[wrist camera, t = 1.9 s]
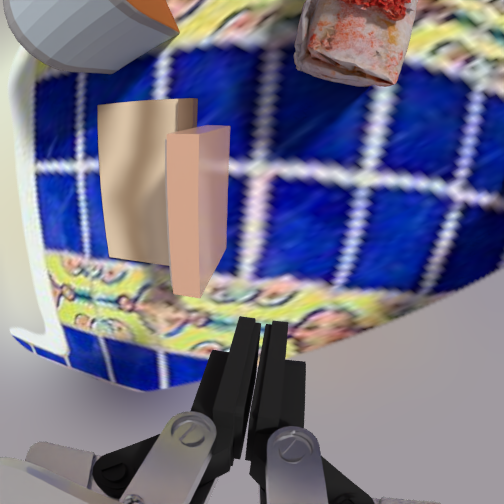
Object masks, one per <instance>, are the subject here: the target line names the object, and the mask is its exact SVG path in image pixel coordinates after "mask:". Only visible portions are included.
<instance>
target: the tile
mask: <svg viewBox="0 0 504 504" xmlns="http://www.w3.org/2000/svg"><path fill="white" fill-rule="evenodd" d="M229 144H230V126H214V125H205V126H200V127H196V128H191V129H186V130H182V131H177V132H173V133H169V134H167V139H165V188H166V216H167V235H168V251H169V265H170V278H171V286H172V287H173V294H177V295H183V296H189V297H196V298H201V296H202V294H203V292H204V290H205V288H206V286H207V284H208V282H209V280H210V278H211V276H212V274H213V273H214V271H215V269H216V267H217V265H218V263H219V261H220V259H221V257H222V255H223V253H224V251H225V250H226V232H227V197H228V169H229Z"/></svg>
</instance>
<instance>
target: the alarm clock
mask: <svg viewBox="0 0 504 504" xmlns="http://www.w3.org/2000/svg"><path fill="white" fill-rule="evenodd" d="M3 5H4V12H5V16H6V19H7V22H8V25H9V28H10V29H11V31H12V33H13V34H14V36H15V38H16V39H17V41H18V42H19V43H20V44H21V45H22V46H23V47H24V48H25V49H26V50H27V51H28V52H29V53H30V54H31V55H33V56H34V57H35V58H37V59H38V60H40V61H41V62H43V63H44V64H46V65H49V66H51V67H53V68H56V69H58V70H63V71H69V72H86V73H103V74H113V73H115V72H116V71H118V70H119V69H121V68H122V67H124V66H125V65H127V64H128V63H130V62H132V61H133V60H135V59H136V58H138V57H140V56H141V55H143V54H145V53H146V52H148V51H150V50H151V49H153V48H155V47H156V46H158V45H160V44H162V43H164V42H165V41H167V40H169V39H171V38H173V37H175V36H177V35H179V33H180V32H179V29H178V27H177V25H176V22H175V20H174V18H173V16H172V14H171V11H170V9H169V7H168V5H167V3H166V0H3Z"/></svg>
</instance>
